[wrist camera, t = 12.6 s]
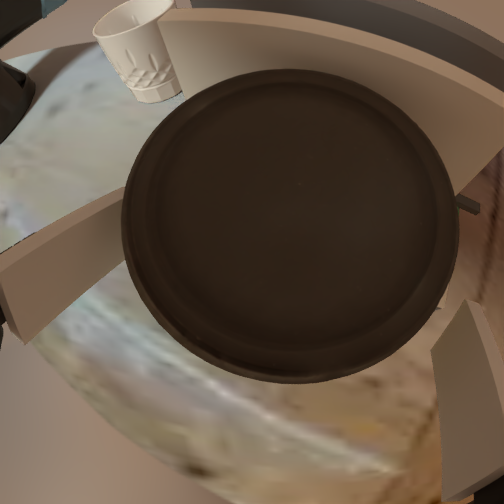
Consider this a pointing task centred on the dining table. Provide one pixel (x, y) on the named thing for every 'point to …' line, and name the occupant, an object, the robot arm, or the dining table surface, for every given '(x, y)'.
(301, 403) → the dining table surface
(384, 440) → the dining table surface
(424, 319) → the coffee can
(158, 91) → the white cup
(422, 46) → the grey u-shaped holder
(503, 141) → the curved beige panel
